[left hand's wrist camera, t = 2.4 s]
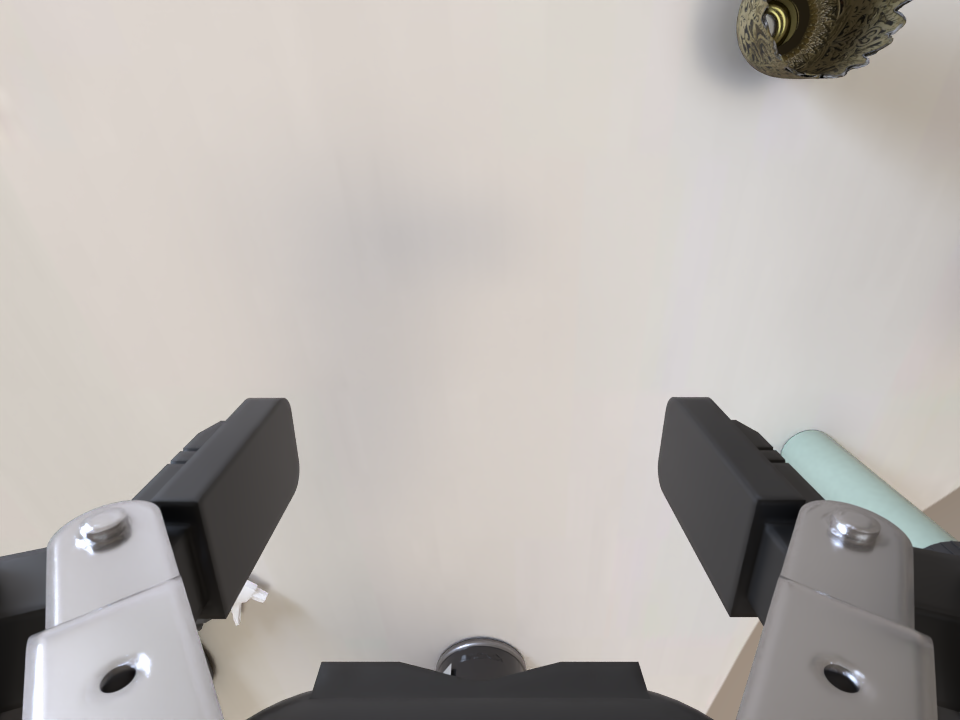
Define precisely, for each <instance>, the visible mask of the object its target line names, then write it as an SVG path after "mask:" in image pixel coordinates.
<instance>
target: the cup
mask: <svg viewBox="0 0 960 720" xmlns="http://www.w3.org/2000/svg"><path fill="white" fill-rule="evenodd" d="M911 1H912V0H742V3H741V6H740V9H739V14H738V19H737V39H738V44H739V47H740V50H741V52H742V54H743V56H744V57H745V59H746V60H747V61H748V63H749V64H750V65H751V66H752V67H753V68H755V69H756V70H758V71H759V72H761V73H764V74H766V75H769V76H772V77H778V78H787V79H812V78H816V79H819V78H838V77H843V76H845V75H846V74H847V72H848V71H849V70H851V69H856V68H860V67H864V66H866V65H868V64H869V58H867V56H871V55H874V54H876V53H877V52H878V51H879V50H881V49H883V48H885V47H886V46H888V45H889V44H890V43H891V42H892V41H893V38H892V36H890V35H892V34H895V33H896V32H897V31H898V30H899V29H900V28H901V27H903V26H904V25H905V23H906V18H905V16H904V15H903V14H902V13H901V12H899V11H898V10H899V9H900V8H902V6H904V5H905V4H907V3H909V2H911ZM766 14H771V15H772V16H774V18H775V19H776V22H777V30H776V33H775V35H774V36H773V37H772V36H771V34H770V31H769V26H768V23H767V21H766Z"/></svg>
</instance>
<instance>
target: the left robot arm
mask: <svg viewBox="0 0 960 720" xmlns="http://www.w3.org/2000/svg"><path fill="white" fill-rule="evenodd" d="M658 476H659V482H660V486H661V489H662V492H663V494H664V496H665V497H666V499H667V501H668V503H669V505H670V507H671V509H672V510H673V512H674V514H675V516H676V518H677V520H678V522H679V523H680V525H681V527H682V529H683V531H684V533H685V535H686V536H687V538H688V540H689V542H690V544H691V546H692V547H693V549H694V551H695V553H696V555H697V557H698V559H699V560H700V562H701V564H702V566H703V568H704V570H705V572H706V573H707V575H708V577H709V579H710V581H711V583H712V585H713V586H714V588H715V590H716V592H717V594H718V596H719V598H720V599H721V601H722V603H723V605H724V607H725V609H726V611H727V612H728V614H729V616H730V617H758V618H759V620H760V621H761V623H762V625H763V626H764V628H763V631H762V634H761V638H760V641H759V644H758V648H757V651H756V654H755V658H754V661H753V664H752V667H751V671H750V674H749V677H748V681H747V684H746V687H745V691H744V694H743V697H742V701H741V704H740V707H739V711H738V714H737V717H736V720H960V556H957V555H952V554H947V553H942V552H937V551H932V550H927V549H922V548H917V547H913V546H912V543H911V541H910V539H909V538H908V537H907V535H906V534H905V533H904V532H903V531H902V530H901V529H900V528H899V527H897V526H896V525H895V524H893V523H892V522H890V521H889V520H887V519H886V518H884V517H882V516H880V515H878V514H876V513H874V512H872V511H870V510H867V509H865V508H862V507H859V506H856V505H853V504H849V503H845V502H840V501H832V500H825V499H824V498H823V497H822V496H821V495H820V494H819V493H818V492H817V491H816V490H815V489H814V488H813V487H812V486H811V485H810V484H809V483H808V482H807V481H806V480H805V479H804V478H803V477H802V476H801V475H800V474H799V473H798V472H797V471H796V470H795V469H794V468H793V467H792V466H791V465H790V464H789V463H786V462H785V459H784V458H783V457H782V456H781V455H780V454H779V453H778V452H777V451H776V450H773V447H772V446H771V445H770V444H769V443H768V442H767V441H766V440H765V439H764V438H763V437H762V436H761V435H760V434H759V433H758V432H756V431H755V430H753V429H751V428H749V427H747V426H746V425H744V424H742V423H740V422H738V421H737V420H730V418H729V417H728V416H727V415H726V414H725V413H724V412H723V411H722V410H721V409H720V408H719V407H718V406H717V405H716V404H715V403H714V401H713V400H712V399H710V398H709V397H672V398H671V399H670V400H669V401H668V404H667V407H666V412H665V419H664V426H663V433H662V439H661V446H660V453H659V460H658ZM298 479H299V459H298V452H297V446H296V439H295V432H294V425H293V419H292V412H291V407H290V404H289V402H288V400H287V399H285V398H248V399H246V400H245V401H244V402H243V403H242V404H241V405H240V406H239V407H238V408H237V409H236V410H235V412H234V413H233V414H232V415H231V416H230V417H229V418H228V419H227V420H226V421H220V422H218V423H216V424H215V425H213V426H211V427H209V428H207V429H206V430H204V431H202V432H200V433H198V434H197V435H196V436H195V437H194V438H193V439H192V440H191V441H190V442H189V443H188V444H187V445H186V446H185V447H184V448H183V451H180V452H179V453H178V454H177V455H176V456H175V457H174V458H173V459H172V460H171V464H167V465H166V466H165V467H164V468H163V469H162V470H161V471H160V472H159V473H158V474H157V475H156V476H155V477H154V478H153V479H152V480H151V481H150V482H149V483H148V484H147V485H146V486H145V487H144V488H143V489H142V490H141V491H140V492H139V493H138V494H137V495H136V496H135V497H134V498H133V499H132V500H128V501H120V502H115V503H111V504H107V505H104V506H101V507H98V508H95V509H93V510H90V511H88V512H86V513H84V514H82V515H80V516H78V517H76V518H74V519H73V520H71V521H70V522H68V523H67V524H65V525H64V526H63V527H61V528H60V529H59V530H58V531H57V532H56V533H55V534H54V535H53V537H52V538H51V539H50V541H49V543H48V546H47V547H46V548H42V549H37V550H32V551H27V552H22V553H17V554H12V555H7V556H2V557H0V720H224V717H223V714H222V711H221V707H220V704H219V701H218V697H217V694H216V691H215V687H214V684H213V681H212V677H211V674H210V671H209V667H208V664H207V661H206V658H205V654H204V651H203V648H202V644H201V641H200V638H199V634H198V631H197V628H196V624H195V622H196V621H197V619H226V618H227V616H228V614H229V612H230V611H231V609H232V607H233V605H234V603H235V601H236V600H237V598H238V596H239V594H240V592H241V590H242V589H243V587H244V585H245V583H246V581H247V579H248V578H249V576H250V574H251V572H252V570H253V568H254V567H255V565H256V563H257V561H258V559H259V557H260V556H261V554H262V552H263V550H264V548H265V546H266V545H267V543H268V541H269V539H270V537H271V535H272V534H273V532H274V530H275V528H276V526H277V524H278V523H279V521H280V519H281V517H282V515H283V513H284V512H285V510H286V508H287V506H288V504H289V502H290V501H291V499H292V497H293V495H294V493H295V491H296V488H297V485H298ZM247 720H713V719H712V718H710V717H708V716H707V715H705V714H703V713H702V712H700V711H698V710H696V709H694V708H692V707H690V706H688V705H686V704H684V703H682V702H680V701H678V700H675V699H672V698H669V697H667V696H664V695H661V694H658V693H655V692H651V691H647V688H646V685H645V682H644V678H643V675H642V672H641V669H640V666H639V662H558V663H554V664H550V665H547V666H543V667H539V668H535V669H531V670H527V671H526V666H525V662H524V660H523V658H522V656H521V655H520V654H519V653H518V652H517V651H516V650H515V649H514V648H512V647H511V646H509V645H507V644H505V643H503V642H500V641H497V640H492V639H471V640H466V641H463V642H460V643H457V644H455V645H453V646H452V647H450V648H449V649H448V650H446V651H445V652H444V653H443V655H442V656H441V657H440V659H439V661H438V664H437V670H436V671H433V670H429V669H425V668H421V667H417V666H413V665H410V664H406V663H402V662H321V666H320V669H319V672H318V675H317V678H316V682H315V685H314V688H313V691H309V692H305V693H302V694H299V695H296V696H293V697H291V698H288V699H285V700H282V701H280V702H278V703H276V704H274V705H272V706H270V707H268V708H266V709H264V710H262V711H260V712H258V713H257V714H255V715H253V716H252V717H250V718H248V719H247Z"/></svg>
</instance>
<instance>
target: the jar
mask: <svg viewBox="0 0 960 720" xmlns="http://www.w3.org/2000/svg"><path fill="white" fill-rule="evenodd" d="M781 456H782V457H783V458H784V459H785V462H786V463H789V464H790V465H791V466H792V467H793V468H794V469H795V470H796V471H797V472H798V473H799V474H800V475H801V476H802V477H803V478H804V479H805V480H806V481H807V482H808V483H809V484H810V485H811V486H812V487H813V488H814V489H815V490H816V491H817V492H818V493H819V494H820V495H821V496H822V497H823V498H824V499H825V500H832V501H840V502H845V503H849V504H853V505H856V506H859V507H862V508H865V509H867V510H870V511H872V512H874V513H876V514H878V515H880V516H882V517H884V518H886V519H887V520H889V521H890V522H892V523H893V524H895V525H896V526H897V527H899V528H900V529H901V530H902V531H903V532H904V533H905V534H906V535H907V537H908V538H909V539H910V541H911V543H912V546H913V547H917V548H922V549H923V548H925V547H928V546H930V545H933V544H936V543H940V542H946V541H957V540H956V539H955V538H954V537H952V536H951V535H950V534H949V533H948V532H946V531H945V530H944V529H943V528H941V527H940V526H939V525H938V524H936V523H935V522H934V521H933V520H932V519H930V518H929V517H928V516H927V515H925V514H924V513H923V512H922V511H920V510H919V509H918V508H917V507H916V506H914V505H913V504H912V503H911V502H909V501H908V500H907V499H906V498H904V497H903V496H902V495H901V494H900V493H898V492H897V491H896V490H895V489H893V488H892V487H891V486H890V485H888V484H887V483H886V482H885V481H884V480H882V479H881V478H880V477H879V476H877V475H876V474H875V473H874V472H872V471H871V470H870V469H869V468H868V467H866V466H865V465H864V464H863V463H861V462H860V461H859V460H858V459H856V458H855V457H854V456H853V455H852V454H850V453H849V452H848V451H847V450H845V449H844V448H843V447H842V446H840V445H839V444H838V443H837V442H836V441H834V440H833V439H832V438H831V437H829V436H828V435H827V434H825V433H824V432H821V431H817V430H808V431H804V432H801V433H798V434H796V435H795V436H793V437H792V438H791V439H789V440H788V442H787V443H786V444H785V446H784V447H783V449H782V453H781ZM958 542H959V541H958Z"/></svg>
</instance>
